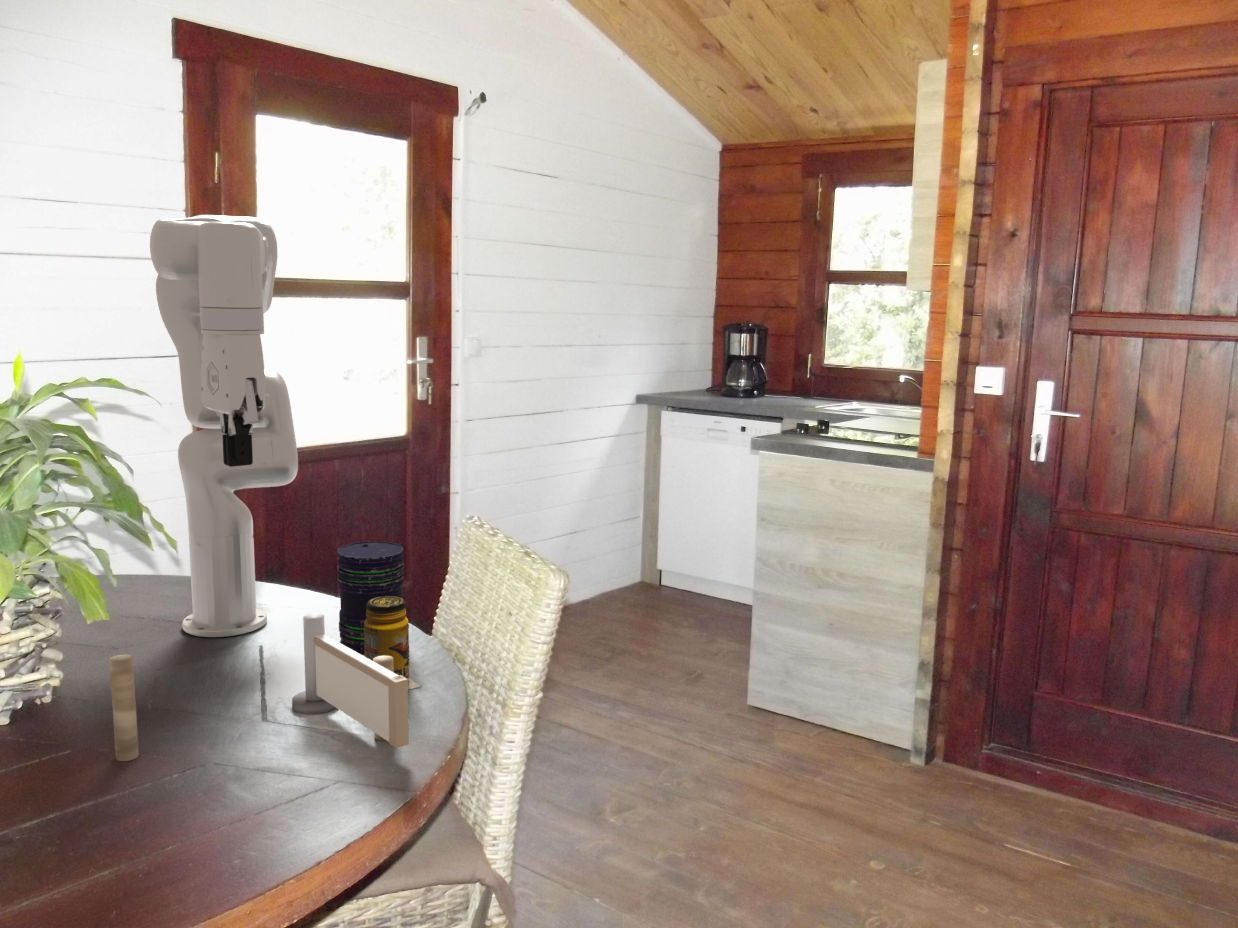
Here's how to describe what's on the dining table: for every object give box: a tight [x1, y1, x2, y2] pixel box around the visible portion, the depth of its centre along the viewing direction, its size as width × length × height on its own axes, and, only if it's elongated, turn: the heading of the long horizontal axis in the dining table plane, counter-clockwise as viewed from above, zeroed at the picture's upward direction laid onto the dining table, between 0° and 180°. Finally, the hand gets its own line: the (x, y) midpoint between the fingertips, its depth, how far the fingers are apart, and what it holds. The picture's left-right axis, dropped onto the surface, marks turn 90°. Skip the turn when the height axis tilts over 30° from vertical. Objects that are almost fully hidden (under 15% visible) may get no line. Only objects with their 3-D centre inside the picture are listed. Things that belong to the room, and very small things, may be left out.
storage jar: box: [337, 541, 405, 656], centre depth 156 cm, size 10×10×15 cm
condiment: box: [363, 596, 420, 690], centre depth 141 cm, size 7×8×12 cm
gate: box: [302, 612, 410, 749], centre depth 126 cm, size 23×3×11 cm, turn 43°
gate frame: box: [109, 653, 394, 762], centre depth 122 cm, size 18×28×12 cm, turn 132°
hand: (238, 464), depth 133 cm, fingers closed
